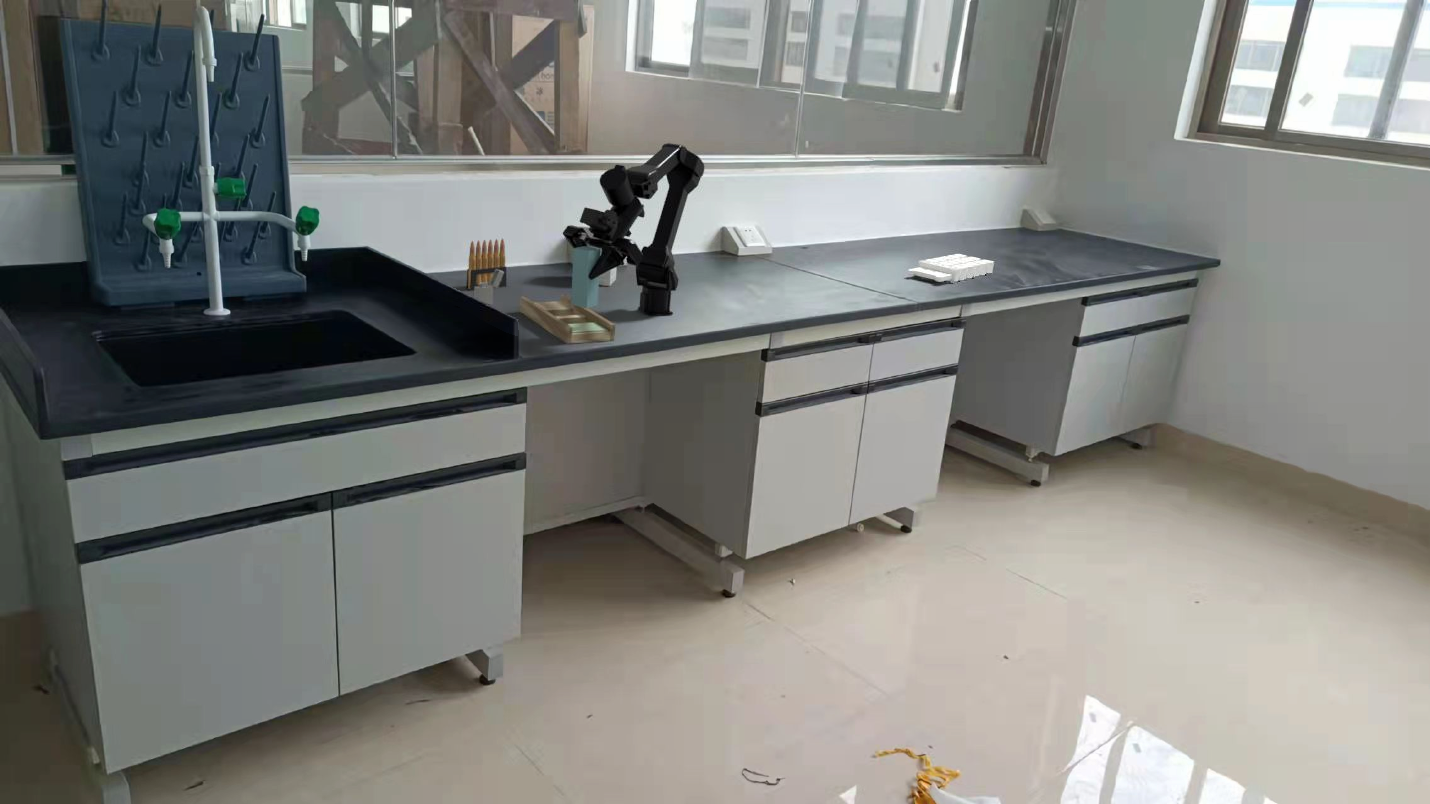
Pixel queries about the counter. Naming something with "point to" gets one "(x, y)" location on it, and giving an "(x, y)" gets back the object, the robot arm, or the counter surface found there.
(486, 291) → the lighter
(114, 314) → the counter surface
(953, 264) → the organizer
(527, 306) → the wooden slatted tray
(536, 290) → the counter surface
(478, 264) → the ammunition clip
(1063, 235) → the counter surface
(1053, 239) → the counter surface
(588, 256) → the teal block
